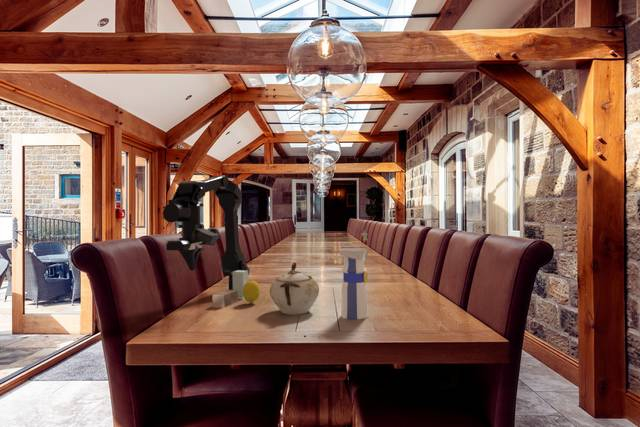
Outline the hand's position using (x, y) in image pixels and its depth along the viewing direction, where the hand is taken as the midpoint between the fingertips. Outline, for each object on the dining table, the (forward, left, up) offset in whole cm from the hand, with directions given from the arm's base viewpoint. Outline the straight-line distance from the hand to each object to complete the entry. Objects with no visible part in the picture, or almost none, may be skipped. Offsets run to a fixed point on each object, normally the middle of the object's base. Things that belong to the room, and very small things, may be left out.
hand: (192, 270), depth 139 cm
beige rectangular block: (-3, +7, -10) cm, 13 cm away
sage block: (-19, +7, -12) cm, 24 cm away
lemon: (-11, +15, -12) cm, 22 cm away
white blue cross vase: (-3, +52, -12) cm, 54 cm away
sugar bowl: (-4, +33, -12) cm, 35 cm away
